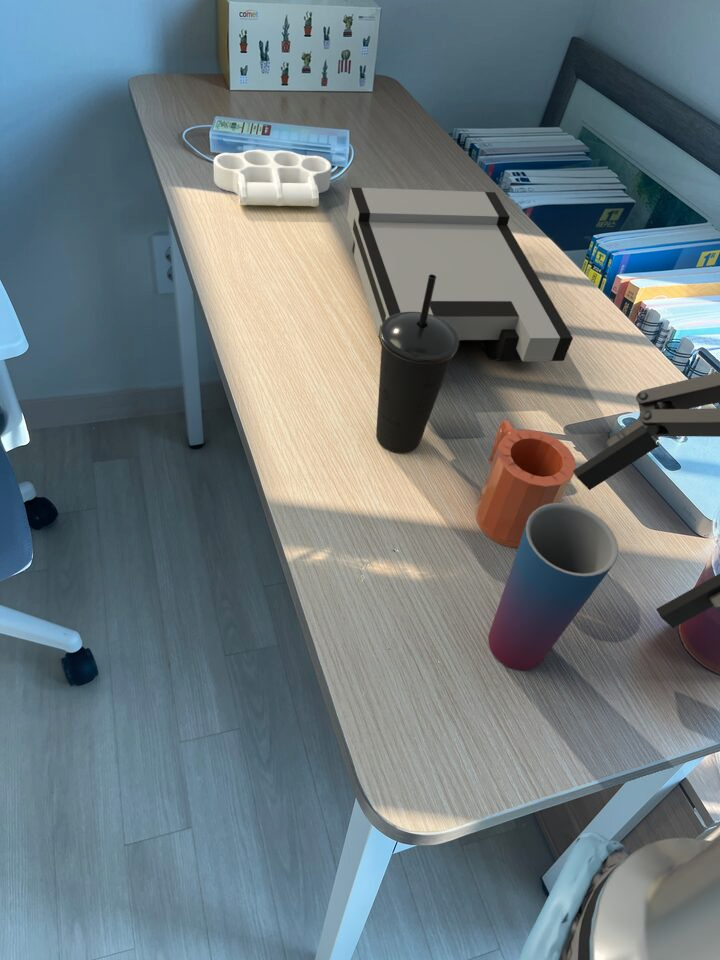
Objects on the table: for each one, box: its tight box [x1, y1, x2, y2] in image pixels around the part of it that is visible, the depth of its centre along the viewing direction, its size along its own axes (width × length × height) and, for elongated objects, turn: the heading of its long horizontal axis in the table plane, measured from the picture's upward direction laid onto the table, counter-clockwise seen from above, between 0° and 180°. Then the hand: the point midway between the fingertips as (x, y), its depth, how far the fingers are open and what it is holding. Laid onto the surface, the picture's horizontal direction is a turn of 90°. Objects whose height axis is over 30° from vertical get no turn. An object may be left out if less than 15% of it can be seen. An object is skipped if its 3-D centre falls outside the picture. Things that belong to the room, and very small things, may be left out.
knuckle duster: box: [213, 148, 332, 208], centre depth 116 cm, size 3×18×15 cm
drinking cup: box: [375, 274, 460, 454], centre depth 75 cm, size 8×8×20 cm
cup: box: [487, 502, 619, 671], centre depth 60 cm, size 7×7×15 cm
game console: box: [346, 186, 574, 362], centre depth 97 cm, size 21×32×8 cm, turn 10°
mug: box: [475, 419, 577, 549], centre depth 73 cm, size 10×7×9 cm
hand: (619, 544), depth 59 cm, fingers open, 13 cm apart
